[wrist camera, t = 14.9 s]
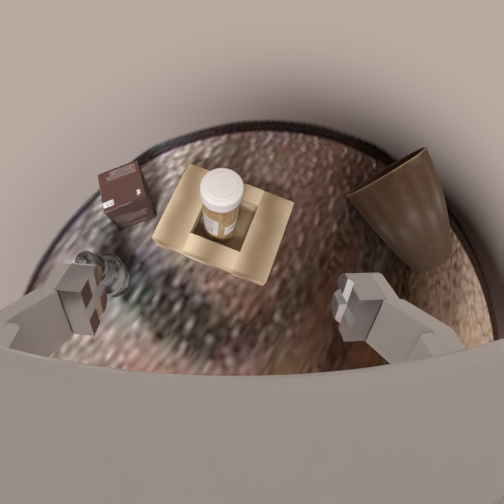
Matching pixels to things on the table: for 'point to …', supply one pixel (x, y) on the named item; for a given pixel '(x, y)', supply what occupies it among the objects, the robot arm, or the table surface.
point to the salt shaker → (108, 271)
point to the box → (126, 195)
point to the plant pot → (407, 211)
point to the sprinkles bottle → (221, 203)
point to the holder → (246, 235)
